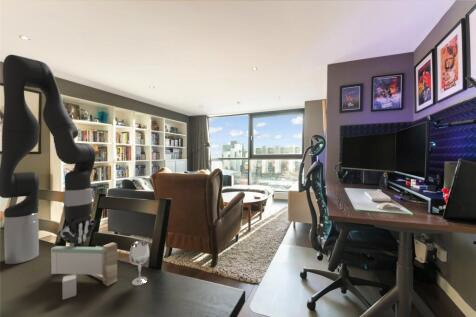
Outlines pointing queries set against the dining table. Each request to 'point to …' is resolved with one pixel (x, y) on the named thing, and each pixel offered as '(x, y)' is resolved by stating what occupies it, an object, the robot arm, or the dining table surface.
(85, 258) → the panel
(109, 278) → the gate frame
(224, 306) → the dining table surface
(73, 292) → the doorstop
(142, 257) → the wineglass
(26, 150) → the robot arm
